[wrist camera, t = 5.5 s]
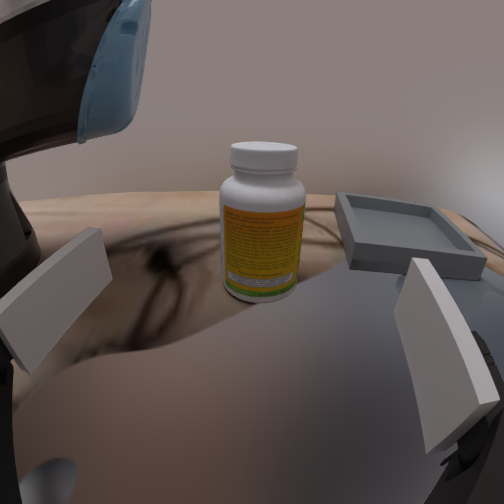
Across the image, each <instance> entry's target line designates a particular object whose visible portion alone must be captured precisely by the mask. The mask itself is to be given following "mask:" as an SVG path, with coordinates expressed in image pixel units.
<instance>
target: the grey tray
mask: <svg viewBox="0 0 504 504" xmlns="http://www.w3.org/2000/svg"><path fill="white" fill-rule="evenodd" d="M334 212H335V216H336V219H337V223H338V226H339V230H340V234H341V237H342V241H343V245H344V249H345V253H346V257H347V261H348V265H349V269H351V270H363V271H373V272H384V273H395V274H406V275H407V272H408V269H409V266H410V262H411V259H412V257H413V258H422V259H428V260H429V261H430V263H431V264H432V266H433V267H434V269H435V270H436V272H437V273H438V275H439V277H441V278H453V279H465V280H477V281H479V279H480V276H481V274H482V271H483V269H484V266H485V264H486V261H487V257H486V256H485V255H484V254H483V252H482V251H481V250H480V249H479V248H478V247H477V246H476V245H475V244H474V243H473V242H472V241H471V240H470V239H469V238H468V237H467V236H466V235H465V234H464V233H463V232H462V231H461V230H460V229H459V228H458V227H457V226H456V225H455V224H454V223H453V222H452V221H451V220H450V219H449V218H447V217H446V216H445V215H444V214H443V213H442V212H441V211H440V210H439V209H438V208H436V207H435V206H432V205H427V204H421V203H415V202H409V201H403V200H397V199H390V198H383V197H377V196H369V195H362V194H354V193H346V192H336V199H335V206H334Z"/></svg>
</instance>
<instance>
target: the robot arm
mask: <svg viewBox="0 0 504 504" xmlns="http://www.w3.org/2000/svg"><path fill="white" fill-rule="evenodd" d="M151 1H152V0H0V298H1V299H0V504H22V500H21V495H20V490H19V485H18V479H17V472H16V466H15V457H14V447H13V432H12V389H13V372H14V369H13V365H12V364H11V360H12V359H14V360H15V362H16V363H17V364H18V366H19V367H20V369H22V370H23V371H25V372H26V373H28V374H29V375H31V376H32V375H33V373H34V372H35V371H36V369H37V368H38V367H39V365H40V364H41V363H42V361H43V360H44V359H45V358H46V356H47V355H48V354H49V353H50V351H51V350H52V349H53V347H54V346H55V345H56V344H57V343H58V341H59V340H60V339H61V338H62V336H63V335H64V334H65V333H66V332H67V330H68V329H69V328H70V327H71V326H72V324H73V323H74V322H75V321H76V320H77V319H78V317H79V316H80V315H81V314H82V313H83V312H84V311H85V309H86V308H87V307H88V306H89V305H90V304H91V303H92V302H93V300H94V299H95V298H96V297H97V296H98V295H99V294H100V293H101V292H102V290H103V289H104V288H105V287H106V286H107V285H108V284H109V283H110V282H111V281H112V280H113V278H112V274H111V271H110V267H109V263H108V259H107V255H106V251H105V246H104V242H103V237H102V233H101V228H90V227H89V228H87V229H86V230H84V231H83V232H82V233H80V234H79V235H78V236H76V237H75V238H73V239H72V240H71V241H69V242H68V243H67V244H65V245H64V246H63V247H62V248H60V249H59V250H58V251H56V252H55V253H54V254H53V255H51V256H50V257H49V258H48V259H46V260H45V261H44V262H43V263H41V264H40V265H39V266H38V267H37V268H35V269H34V270H33V271H32V272H31V270H32V269H33V268H34V266H35V265H36V263H37V261H38V259H39V256H40V248H39V244H38V241H37V238H36V234H35V231H34V229H33V227H32V226H31V224H30V222H29V221H28V219H27V217H26V216H25V214H24V212H23V211H22V209H21V207H20V206H19V204H18V202H17V200H16V198H15V197H14V195H13V193H12V191H11V189H10V186H9V183H8V178H7V172H6V165H5V161H8V160H11V159H15V158H18V157H21V156H24V155H28V154H31V153H35V152H38V151H43V150H46V149H50V148H54V147H59V146H63V145H67V144H71V143H77V142H78V143H79V144H83V143H85V142H86V141H87V140H89V139H93V138H98V137H102V136H107V135H111V134H115V133H118V132H120V131H122V130H124V129H125V128H126V127H127V126H128V125H129V124H130V123H131V121H132V120H133V118H134V116H135V113H136V110H137V106H138V102H139V97H140V91H141V85H142V79H143V71H144V65H145V58H146V50H147V43H148V36H149V28H150V19H151ZM30 272H31V273H30ZM4 295H5V296H4ZM3 296H4V297H3ZM2 297H3V298H2ZM393 314H394V317H395V320H396V324H397V327H398V330H399V334H400V337H401V340H402V344H403V347H404V351H405V355H406V358H407V362H408V366H409V370H410V374H411V378H412V382H413V386H414V391H415V395H416V400H417V405H418V410H419V415H420V420H421V426H422V432H423V438H424V444H425V452H426V454H430V453H436V452H441V451H445V450H447V449H448V448H450V447H451V446H452V445H453V444H454V443H456V442H457V444H458V449H457V450H456V451H455V452H454V453H453V454H451V455H450V456H448V457H447V458H446V459H444V460H443V462H442V463H441V464H440V465H441V466H443V465H444V464H446V463H447V462H449V463H448V465H447V467H446V469H445V471H444V472H443V474H442V476H441V477H440V479H439V481H438V482H437V484H436V486H435V487H434V489H433V490H432V492H431V494H430V495H429V497H428V498H427V500H426V501H425V503H424V504H504V382H503V380H502V378H501V375H500V373H499V371H498V368H497V366H496V365H495V362H494V359H493V357H492V356H490V354H491V353H490V351H489V349H488V347H487V345H486V343H485V341H484V340H483V339H482V338H481V337H480V336H479V335H478V334H477V332H476V331H470V329H469V327H468V325H467V323H466V321H465V320H464V318H463V316H462V314H461V312H460V310H459V309H458V307H457V305H456V303H455V302H454V300H453V298H452V296H451V295H450V293H449V291H448V290H447V288H446V286H445V285H444V283H443V281H442V280H441V278H440V277H439V275H438V273H437V272H436V270H435V269H434V267H433V266H432V264H431V263H430V261H429V260H428V259H422V258H413V257H412V259H411V262H410V266H409V269H408V272H407V275H406V278H405V281H404V284H403V287H402V290H401V293H400V295H399V298H398V301H397V304H396V306H395V309H394V312H393Z"/></svg>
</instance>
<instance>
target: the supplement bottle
mask: <svg viewBox="0 0 504 504" xmlns="http://www.w3.org/2000/svg"><path fill="white" fill-rule="evenodd" d="M297 154H298V149H297V147H295V146H293V145H288V144H283V143H274V142H241V143H235V144H232V145H231V153H230V163H231V168H232V169H233V170H235V174H234V176H231V177H229V178H228V179H227V180H225V181H224V183H223V184H222V186H221V189H220V235H221V264H222V279H223V284H224V286H225V288H226V289H227V290H228V292H229V293H231V294H232V295H233V296H235V297H237V298H239V299H241V300H244V301H248V302H253V303H269V302H274V301H278V300H281V299H283V298H285V297H287V296H288V295H289V294H290V293H291V292H292V291H293V290H294V289H295V287H296V284H297V278H298V269H299V261H300V251H301V242H302V232H303V222H304V212H305V202H306V191H305V188H304V186H303V185H302V184H301V182H299V181H298V180H297V179H295V178H293V176H292V174H293V172H294V171H296V169H297V167H296V166H297Z"/></svg>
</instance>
